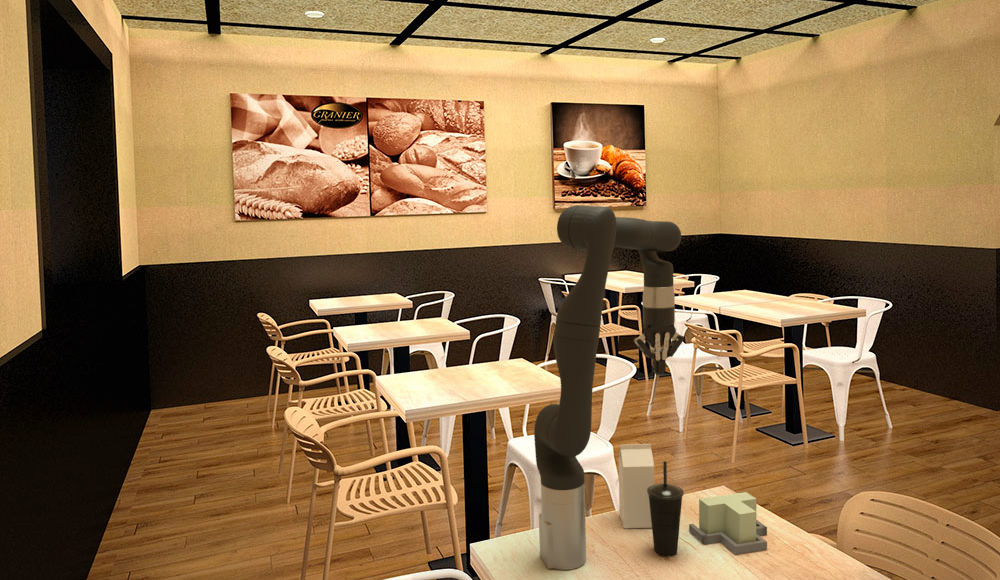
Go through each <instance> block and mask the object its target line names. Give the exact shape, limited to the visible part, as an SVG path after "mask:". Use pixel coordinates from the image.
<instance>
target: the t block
mask: <svg viewBox="0 0 1000 580" xmlns="http://www.w3.org/2000/svg"><path fill="white" fill-rule="evenodd" d="M698 518H699V519H698V521H699V522H698V523H699V524H698V528H699V529H700V530H701V531H702V532H704V533H705V534H711V533H718V532H723V533H724V534H725V535H727V536H728V537H729V538H730V539H731V540H733V541H734V542H735V543H736V544H740V543H747V542H753V541H756V520H757V498H756V497H755V496H753V495H752V494H750V493H749V492H747V491H745V492H744V491H743V492H738V493H730V494H725V495H724V494H723V495H717V496H716V495H715V496H709V497H702V498H699V500H698Z"/></svg>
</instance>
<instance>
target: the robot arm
mask: <svg viewBox="0 0 1000 580" xmlns="http://www.w3.org/2000/svg"><path fill="white" fill-rule="evenodd" d="M556 233H557V237H558V240H559V241H560V242H561V244H562V245H564V246H565V247H567V248H569V249H572V250H575V251H576V250H577V251H584V252H586V255H585V260H584V265H583V269H582V272H581V273H580V275H579V276H580V277H579V278H578V280H577V281H576V283H575V285H574V286H573V287H572V289H571V290H570V291H569V293H568V294H567V295H566V296H565V298H564V299H563V301H562V302H561V304H560V305H559V308H558V310H557V312H556V316H555V324H554V334H553V349H554V350H553V351H554V356H555V361H556V365H557V369H558V374H559V380H560V395H559V404H557V403H552V404H548V405H546V406H544V407H543V408H542V409H541V410H540V411H539V412H538V414H537V416H536V419H535V422H534V426H533V427H534V429H533V433H534V438H533V439H534V451H535V453H534V454H535V463H536V468H537V470H538V473H539V476H540V500H541V501H540V502H541V503H540V505H541V508H540V509H541V513H538V529H539V530H538V534H539V557H540V558H541V560H542V561H543V563H544V565H545V567H546V569H549V570H550V569H551V570H552V569H556V570H563V571H564V570H566V571H567V570H574V569H578V568H580V567H582V566H583V565H584V564H585V563H586V562H587V540H586V538H587V537H586V536H587V535H586V534H587V533H586V492H585V491H586V489H585V482H586V481H585V470H584V468H583V466H582V465H581V463H580V462H579V460H578V458H577V456H579V455H580V454H582V453H583V452H584V450H585V449H586V448H587V446H588V444H589V441H590V439H591V432H592V421H593V419H592V416H593V415H592V413H593V390H594V389H593V387H594V378H595V370H596V362H597V360H596V359H597V353H598V352H597V351H598V347H599V340H600V334H601V325H602V324H601V323H602V313H603V306H604V305H603V304H604V298H605V292H606V284H607V281H608V280H607V279H608V273H609V269H610V266H611V265H610V264H611V261H612V256H613V252H614V248H615V247H616V248H621V249H628V250H637V251H638V254H639V257H640V261H641V265H642V268H643V270H642V271H643V292H642V326H643V327H642V330H641V334H640V335H639V336H638V337H634V338H633V343H634V344H635V345H636V346H637V348H638V349H639V350H640V351H641V353H642V354H643V355H644V356H645V357H646V358H649V359H651V360H652V362H651V363H652V364H651V365H652V372H653V373H654V374H655V375H656V376H664V374H665V372H666V368H667V367H666V366H667V365H666V363H667V359H668V358H670V357H671V358H672V357H674V355H675V354H676V352H677V350H678V349H679V347H680V346H681V344H682V343H683V341H684V340H685V336H683V335H682V334H680V333H678V332H677V329H676V327H675V319H676V317H675V314H676V312H675V311H676V310H675V309H676V308H675V304H676V303H675V299H676V297H675V289H674V287H675V286H674V267H673V266H674V265H673V263H672V262H670V261H667V260H664V259H661V258H659V256H658V254H657V252H671V251H674V250H676V249H677V248H678V246H679V245H680V244H681V241H682V231H681V229H680V228H679V226H678V225H677V224H676V223H675V222H672V221H664V220H663V221H660V220H654V221H653V220H646V219H642V218H636V217H626V216H624V217H623V216H622V217H619V216H616V214H615V212H614V210H612V208H611V207H608V206H597V205H595V206H594V205H582V204H580V205H579V204H577V205H572V206H571V205H570V206H568V207H567V208H565V209H564V210H563V211H562V212H561V214H559V217H558V219H557V224H556ZM646 342H647V343H648V344H649V348H648V346H647V345H646Z"/></svg>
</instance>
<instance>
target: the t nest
mask: <svg viewBox="0 0 1000 580" xmlns="http://www.w3.org/2000/svg"><path fill="white" fill-rule="evenodd" d="M688 532H689V533H690V534H691V535H692V536H693V537H695V538H696V539H697V540H698V541H699V542H700V543H701V544H702V545H704V546H705V545H710V544H718V543H721V544H722V545H723V546H724V547H725V548H727V549H728V551H730V552H732V553H733V554H734V555H735V556H737V555H742V554H744V555H745V554H748V553H749V554H750V553H755V552H761V551H767V550H768V541H767V540H765V539H764V538H763V536H767V535H768V526H766V525H765V524H764V523H762V522H760V521H759V520H758V519H756V541H753V542H747V543H740V544H736V543H735V542H734V541H733V540H731V539H730V538H729V537H728V536H727V535H725V534H724V533H723V532H718V533H711V534H705V533H704V532H702V531H701V530H700V529H699V526H697V525H696V524H694V523H689V524H688Z"/></svg>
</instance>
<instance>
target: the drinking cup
mask: <svg viewBox="0 0 1000 580" xmlns="http://www.w3.org/2000/svg"><path fill="white" fill-rule="evenodd" d="M667 466H668V465H667V461H665V460H664V461H663V482H660V483H657V484H654V485H652V486H650V487H648V489H647V493H648V495H649V504H650V513H651V523H652V528H651V530H652V542H653V550H654V553H655V554H656V555H657V556H661V557H664V558H665V557H666V558H667V557H673V556H676V555H677V554H678V548H679V547H678V545H679V535H680V527H681V526H680V525H681V514H682V513H681V512H682V505H683V504H682V503H683V496H684V490H683V489H682V488H681V487H680V486H678V485H675V484H672V483H668V478H667V477H668V474H667V473H668V471H667V470H668V469H667V468H668V467H667Z"/></svg>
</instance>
